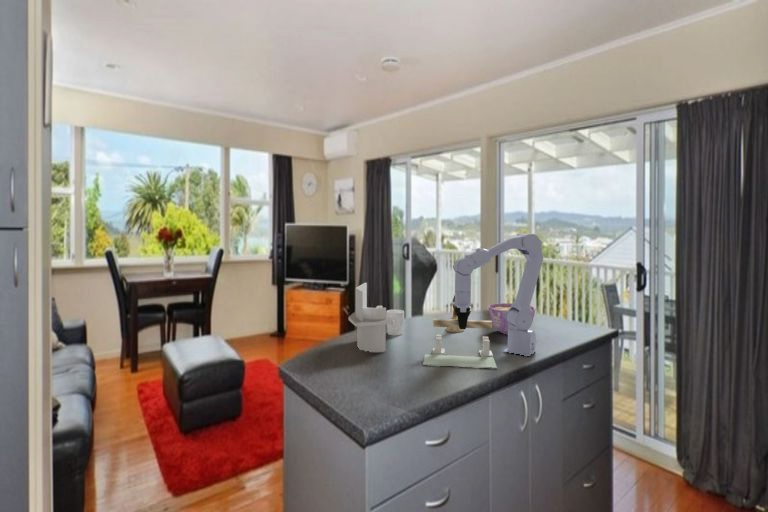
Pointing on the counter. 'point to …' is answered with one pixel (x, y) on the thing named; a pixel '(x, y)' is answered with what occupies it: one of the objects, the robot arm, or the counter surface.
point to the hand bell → (455, 329)
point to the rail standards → (483, 352)
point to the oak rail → (455, 323)
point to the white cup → (395, 322)
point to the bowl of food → (502, 316)
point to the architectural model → (369, 323)
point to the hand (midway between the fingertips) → (462, 328)
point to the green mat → (458, 361)
